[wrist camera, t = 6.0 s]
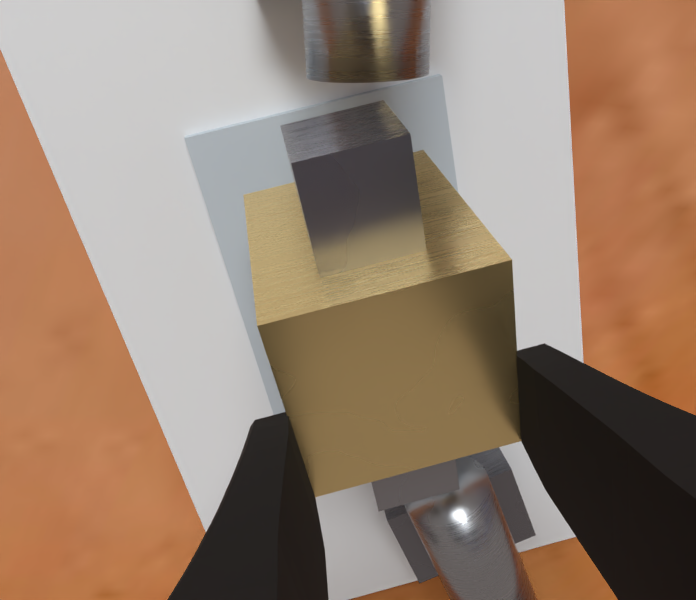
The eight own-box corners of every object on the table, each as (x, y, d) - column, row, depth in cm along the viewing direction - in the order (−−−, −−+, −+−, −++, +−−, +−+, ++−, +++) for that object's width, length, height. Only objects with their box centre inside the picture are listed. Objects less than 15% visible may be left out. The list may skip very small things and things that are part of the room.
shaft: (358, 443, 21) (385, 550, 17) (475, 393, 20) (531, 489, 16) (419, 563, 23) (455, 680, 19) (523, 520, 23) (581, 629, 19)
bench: (523, -357, 14) (549, -390, 12) (579, 512, 25) (596, 538, 24) (-97, -223, 13) (-131, -244, 12) (246, 604, 24) (246, 635, 23)
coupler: (411, 55, 13) (505, 135, 9) (450, 360, 17) (525, 508, 13) (215, 102, 13) (217, 206, 9) (305, 398, 17) (335, 561, 13)
